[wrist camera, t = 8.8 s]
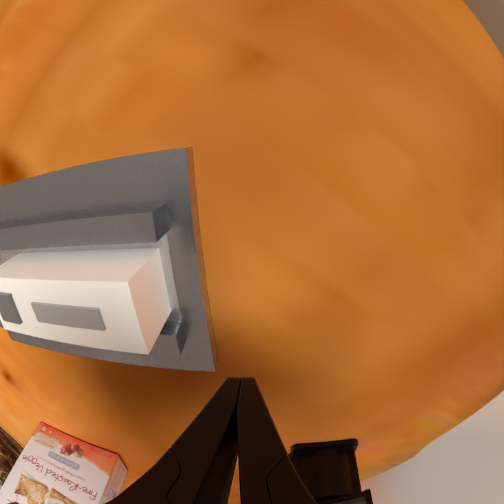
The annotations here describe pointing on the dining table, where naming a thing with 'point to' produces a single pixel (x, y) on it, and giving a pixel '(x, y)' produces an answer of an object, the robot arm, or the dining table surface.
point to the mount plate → (122, 241)
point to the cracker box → (63, 471)
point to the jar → (7, 454)
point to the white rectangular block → (87, 297)
